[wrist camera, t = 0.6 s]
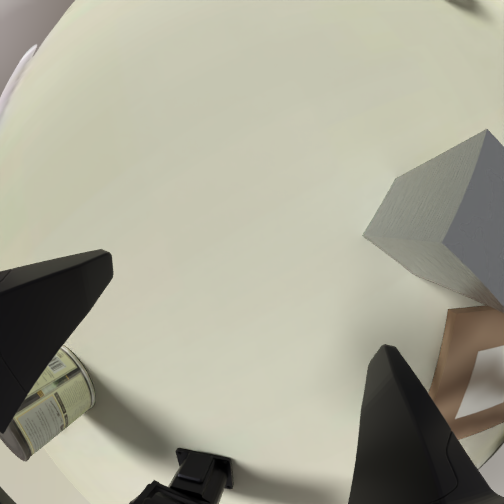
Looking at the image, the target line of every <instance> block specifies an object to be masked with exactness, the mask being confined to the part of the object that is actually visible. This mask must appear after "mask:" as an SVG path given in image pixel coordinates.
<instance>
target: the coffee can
mask: <svg viewBox="0 0 504 504" xmlns="http://www.w3.org/2000/svg"><path fill="white" fill-rule="evenodd" d="M94 403H95V392H94V388H93V384H92V382H91V380H90V377H89V375H88V373H87V371H86V370H85V368H84V367H83V365H82V364H81V362H80V361H79V360H78V358H77V357H76V356H75V355H74V354H73V353H72V352H71V351H70V350H69V349H68V348H66V347H65V346H62V347H61V348H60V350H59V351H58V352H57V354H56V355H55V356H54V358H53V359H52V360H51V362H50V363H49V364H48V366H47V367H46V369H45V370H44V371H43V373H42V374H41V376H40V377H39V379H38V380H37V382H36V383H35V384H34V386H33V387H32V389H31V390H30V392H29V393H28V395H27V397H26V398H25V400H24V401H23V403H22V405H21V406H20V408H19V409H18V411H17V413H16V414H15V416H14V418H13V419H12V421H11V423H10V424H9V426H8V428H7V430H6V431H5V433H4V434H2V433H1V432H0V439H1V440H2V441H3V442H4V443H5V445H6V446H7V447H8V448H9V449H10V450H11V451H12V452H13V453H14V454H15V455H16V456H17V457H19V458H20V459H21V460H23V461H27V460H28V459H29V458H30V456H32V455H33V454H34V453H35V452H37V451H38V450H39V449H41V448H42V447H43V446H44V445H46V444H47V443H48V442H49V441H50V440H52V439H53V438H54V437H55V436H57V435H58V434H59V433H60V432H61V431H63V430H64V429H65V428H66V427H68V426H69V425H70V424H71V423H73V422H74V421H75V420H76V419H77V418H79V417H80V416H81V415H82V414H83V413H85V412H86V411H87V410H88V409H90V408H92V407H93V406H94Z"/></svg>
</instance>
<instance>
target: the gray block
mask: <svg viewBox="0 0 504 504" xmlns="http://www.w3.org/2000/svg"><path fill="white" fill-rule="evenodd" d="M362 236H363V237H365V238H366V239H367V240H369V241H370V242H372V243H373V244H374V245H376V246H377V247H378V248H380V249H381V250H382V251H384V252H385V253H386V254H388V255H389V256H390V257H392V258H393V259H394V260H396V261H397V262H398V263H399V264H401V265H402V266H403V267H405V268H406V269H407V270H408V271H410V272H411V273H412V274H414V275H416V276H419V277H421V278H424V279H426V280H429V281H431V282H434V283H436V284H439V285H441V286H443V287H446V288H448V289H450V290H453V291H455V292H458V293H460V294H462V295H465V296H467V297H469V298H471V299H474V300H476V301H478V302H481V303H483V304H485V305H487V306H490V307H492V308H494V309H496V310H498V311H501V312H503V313H504V147H503V146H502V144H501V143H500V142H499V141H498V140H497V139H496V138H495V137H494V136H493V135H492V134H491V132H490V131H489V130H488V129H486V130H484V131H482V132H480V133H478V134H477V135H475V136H473V137H471V138H469V139H468V140H466V141H464V142H462V143H460V144H458V145H457V146H455V147H453V148H451V149H449V150H447V151H446V152H444V153H442V154H440V155H438V156H436V157H435V158H433V159H431V160H429V161H427V162H425V163H424V164H422V165H420V166H418V167H416V168H414V169H412V170H411V171H409V172H407V173H405V174H403V175H401V176H400V177H398V178H396V179H395V180H394V182H393V184H392V186H391V188H390V189H389V191H388V193H387V195H386V197H385V198H384V200H383V202H382V204H381V205H380V207H379V209H378V210H377V212H376V214H375V215H374V217H373V219H372V221H371V222H370V224H369V225H368V227H367V229H366V230H365V232H364V234H363V235H362Z"/></svg>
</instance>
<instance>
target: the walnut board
mask: <svg viewBox="0 0 504 504" xmlns="http://www.w3.org/2000/svg"><path fill="white" fill-rule="evenodd" d="M429 395H430V397H431V398H432V400H433V401H434V403H435V404H436V406H437V407H438V409H439V410H440V412H441V414H442V415H443V417H444V418H445V420H446V421H447V423H448V425H449V426H450V428H451V431H453V432H454V434H455V436H456V437H457V439H458V440H459V439H462V438H465V437H468V436H471V435H473V434H476V433H479V432H481V431H484V430H486V429H489V428H491V427H494V426H496V425H498V424H500V423H503V422H504V313H503V312H501V311H498V310H496V309H494V308H492V307H490V306H487V305H485V306H477V307H467V308H457V309H448V313H447V319H446V325H445V331H444V336H443V341H442V345H441V350H440V354H439V358H438V362H437V366H436V370H435V374H434V377H433V381H432V384H431V387H430V390H429Z"/></svg>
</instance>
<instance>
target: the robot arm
mask: <svg viewBox="0 0 504 504" xmlns="http://www.w3.org/2000/svg"><path fill="white" fill-rule="evenodd" d="M112 278H113V263H112V255H111V253H109V252H107V251H105V250H102V249H99V250H94V251H89V252H84V253H80V254H75V255H70V256H66V257H61V258H56V259H52V260H48V261H43V262H39V263H34V264H30V265H26V266H22V267H17V268H13V269H9V270H5V271H1V272H0V432H1V433H2V434H4V433H5V431H6V430H7V428H8V426H9V424H10V423H11V421H12V419H13V418H14V416H15V414H16V413H17V411H18V409H19V408H20V406H21V405H22V403H23V401H24V400H25V398H26V397H27V395H28V393H29V392H30V390H31V389H32V387H33V386H34V384H35V383H36V382H37V380H38V379H39V377H40V376H41V374H42V373H43V371H44V370H45V369H46V367H47V366H48V364H49V363H50V362H51V360H52V359H53V358H54V356H55V355H56V354H57V352H58V351H59V350H60V348H61V347H62V346H63V344H64V343H65V342H66V340H67V339H68V338H69V336H70V335H71V334H72V333H73V331H74V330H75V329H76V328H77V326H78V325H79V324H80V323H81V321H82V320H83V319H84V318H85V316H86V315H87V314H88V313H89V311H90V310H91V309H92V307H93V306H94V304H95V303H96V301H97V300H98V298H99V297H100V295H101V294H102V293H103V291H104V290H105V288H106V287H107V285H108V284H109V283H110V281H111V280H112ZM176 455H177V459H178V462H179V466H180V467H179V469H178V471H177V473H176V474H175V476H174V478H173V479H172V481H171V483H170V485H169V486H168V487H167V486H164V485H162V484H160V483H159V482H157V481H155V480H154V481H153V482H152V483H151V484H148V485H147V486H146V488H145V489H144V490H143V492H142V493H141V494H140V495H139V496H138V497H136V498H135V499H134V500H132V501H131V502H130V503H129V504H219V502H220V499H221V496H222V493H223V491H224V488H226V489H232V488H233V476H232V464H231V460H230V459H229V458H225V457H219V456H214V455H208V454H203V453H198V452H194V451H189V450H185V449H181V448H178V449H177V450H176ZM0 504H16V503H15V502H14V501H13V500H12V499H11V498H10V497H9V496H8V495H7V494H6V493H5V491H4V490H3V489H2V488H1V487H0ZM348 504H504V497H502V496H500V495H498V494H496V493H495V492H494V491H493V490H492V489H491V488H490V487H489V485H488V484H487V482H486V481H485V479H484V478H483V477H482V475H481V474H480V472H479V471H478V469H477V468H476V466H475V465H474V464H473V462H472V461H471V459H470V458H469V456H468V455H467V453H466V452H465V450H464V449H463V447H462V445H461V444H460V442H459V441H458V439H457V437H456V436H455V434H454V432H453V431H451V428H450V426H449V425H448V423H447V421H446V420H445V418H444V417H443V415H442V414H441V412H440V410H439V409H438V407H437V406H436V404H435V403H434V401H433V400H432V398H431V397H430V395H429V394H428V392H427V391H426V389H425V388H424V386H423V385H422V384H421V382H420V381H419V379H418V378H417V376H416V375H415V373H414V372H413V371H412V369H411V368H410V366H409V365H408V364H407V362H406V361H405V359H404V358H403V357H402V355H401V354H400V352H399V351H398V350H397V348H396V347H394V346H390V345H386V344H384V345H382V346H381V347H380V349H379V350H378V351H377V353H376V354H375V356H374V357H373V358H372V360H371V361H370V363H369V366H368V370H367V377H366V384H365V390H364V396H363V402H362V408H361V416H360V427H359V437H358V446H357V454H356V461H355V468H354V474H353V480H352V486H351V492H350V497H349V502H348Z"/></svg>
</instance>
